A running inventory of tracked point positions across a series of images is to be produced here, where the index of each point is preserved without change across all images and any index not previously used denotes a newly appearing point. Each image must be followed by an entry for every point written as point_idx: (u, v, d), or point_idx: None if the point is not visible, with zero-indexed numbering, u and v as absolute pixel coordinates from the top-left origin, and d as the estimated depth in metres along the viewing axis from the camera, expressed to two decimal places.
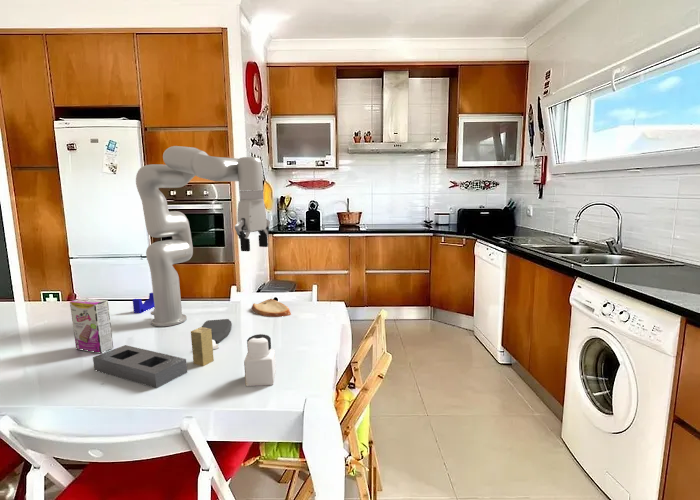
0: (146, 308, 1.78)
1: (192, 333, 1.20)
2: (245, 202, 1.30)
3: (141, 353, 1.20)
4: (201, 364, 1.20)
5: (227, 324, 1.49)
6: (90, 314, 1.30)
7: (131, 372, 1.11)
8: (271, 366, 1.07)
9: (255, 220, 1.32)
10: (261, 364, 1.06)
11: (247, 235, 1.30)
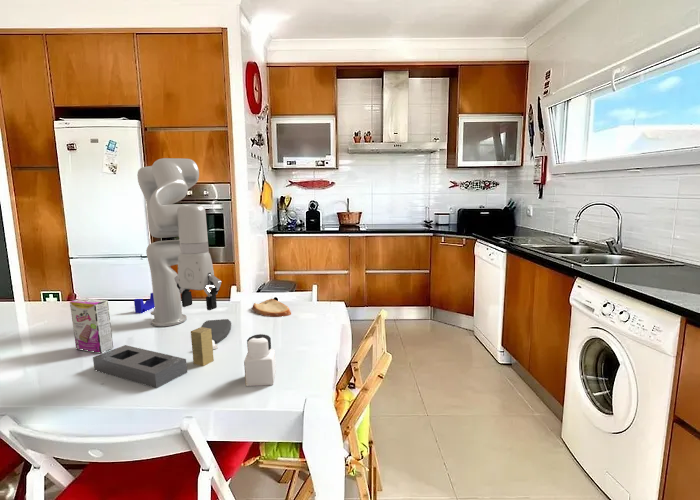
0: (147, 308, 1.78)
1: (192, 333, 1.20)
2: (208, 255, 1.16)
3: (141, 353, 1.20)
4: (201, 364, 1.20)
5: (227, 324, 1.49)
6: (90, 314, 1.30)
7: (131, 372, 1.11)
8: (271, 366, 1.07)
9: None
10: (261, 364, 1.06)
11: None
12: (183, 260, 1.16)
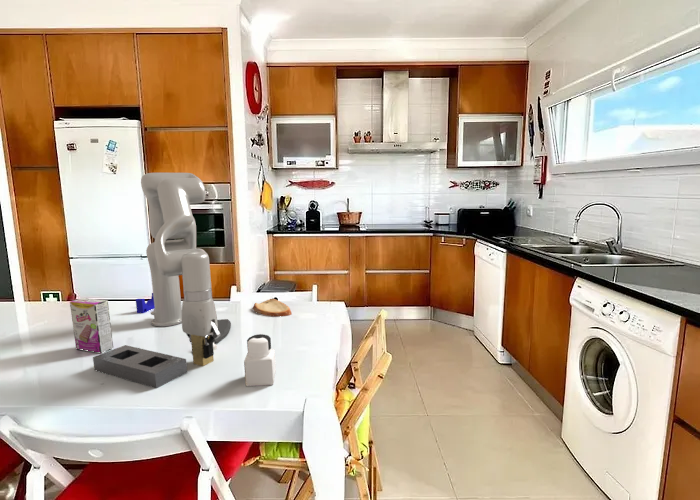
0: (149, 308, 1.78)
1: None
2: (211, 301, 1.19)
3: (141, 353, 1.20)
4: (201, 364, 1.20)
5: (226, 324, 1.49)
6: (90, 314, 1.30)
7: (131, 372, 1.11)
8: (271, 366, 1.07)
9: None
10: (261, 364, 1.06)
11: None
12: (187, 307, 1.18)
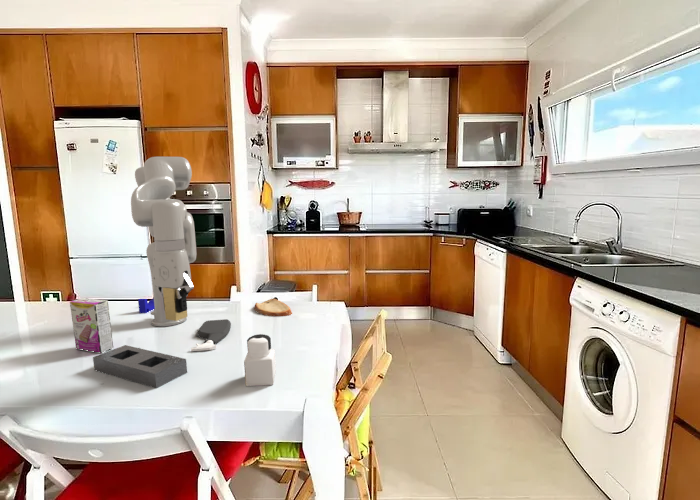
0: (151, 308, 1.78)
1: None
2: (184, 252, 1.13)
3: (141, 353, 1.20)
4: (174, 319, 1.14)
5: (226, 324, 1.49)
6: (90, 314, 1.30)
7: (131, 372, 1.11)
8: (271, 366, 1.07)
9: None
10: (261, 364, 1.06)
11: None
12: (158, 258, 1.12)
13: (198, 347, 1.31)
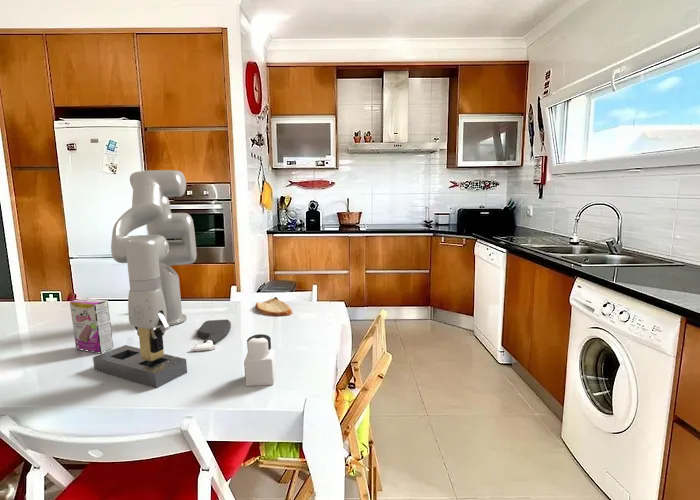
0: None
1: None
2: (159, 291, 1.10)
3: None
4: (149, 359, 1.12)
5: (226, 325, 1.49)
6: (90, 314, 1.30)
7: (131, 372, 1.11)
8: (271, 366, 1.07)
9: None
10: (261, 364, 1.06)
11: None
12: (133, 297, 1.10)
13: (197, 347, 1.31)
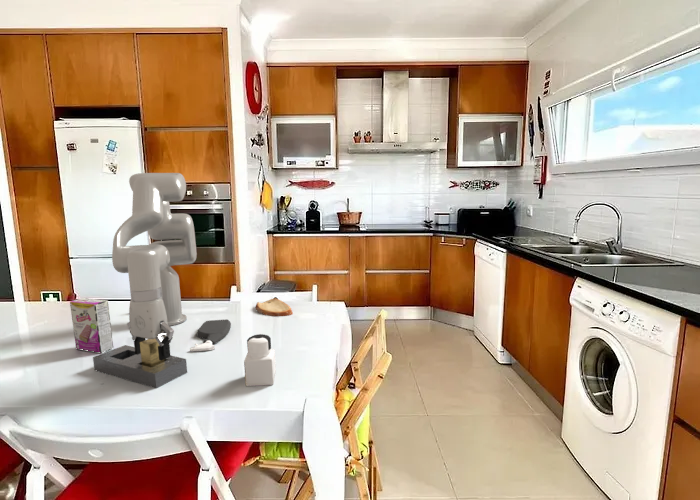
0: None
1: (141, 344, 1.12)
2: (160, 302, 1.10)
3: None
4: None
5: (226, 325, 1.49)
6: (90, 314, 1.30)
7: (131, 372, 1.11)
8: (271, 366, 1.07)
9: None
10: (261, 364, 1.06)
11: None
12: (134, 307, 1.10)
13: (197, 347, 1.31)
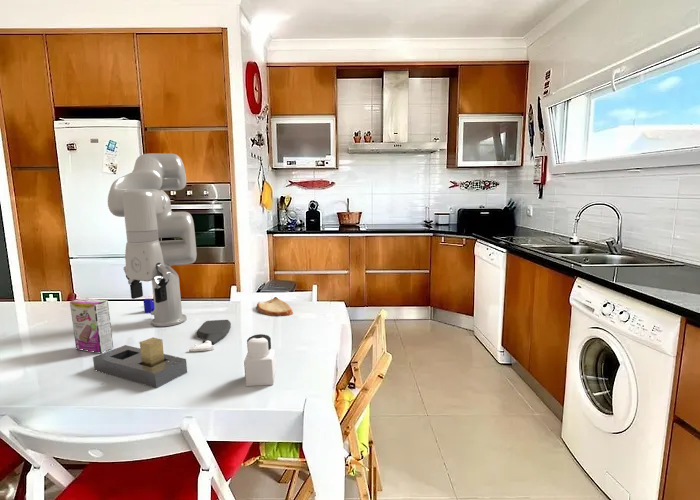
0: None
1: (141, 344, 1.12)
2: (157, 244, 1.09)
3: None
4: None
5: (225, 325, 1.49)
6: (90, 314, 1.30)
7: (131, 372, 1.11)
8: (271, 366, 1.07)
9: None
10: (261, 364, 1.06)
11: None
12: (130, 249, 1.09)
13: (196, 347, 1.31)
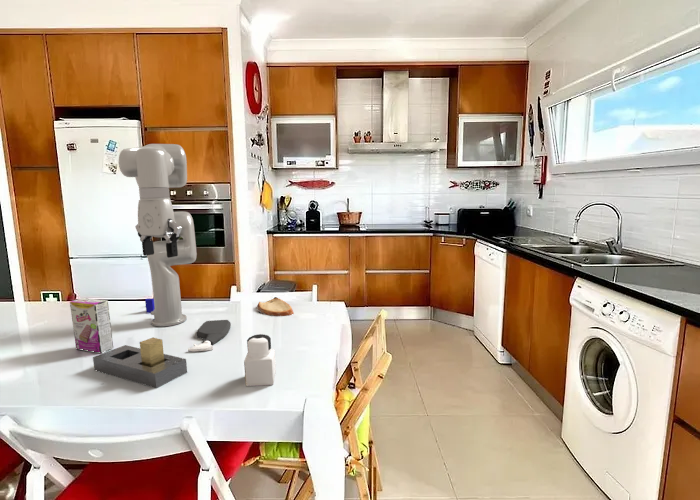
0: None
1: (141, 344, 1.12)
2: (168, 200, 1.13)
3: None
4: None
5: (225, 325, 1.48)
6: (90, 314, 1.30)
7: (131, 372, 1.11)
8: (271, 366, 1.07)
9: None
10: (261, 364, 1.06)
11: None
12: (142, 206, 1.13)
13: (195, 347, 1.31)
